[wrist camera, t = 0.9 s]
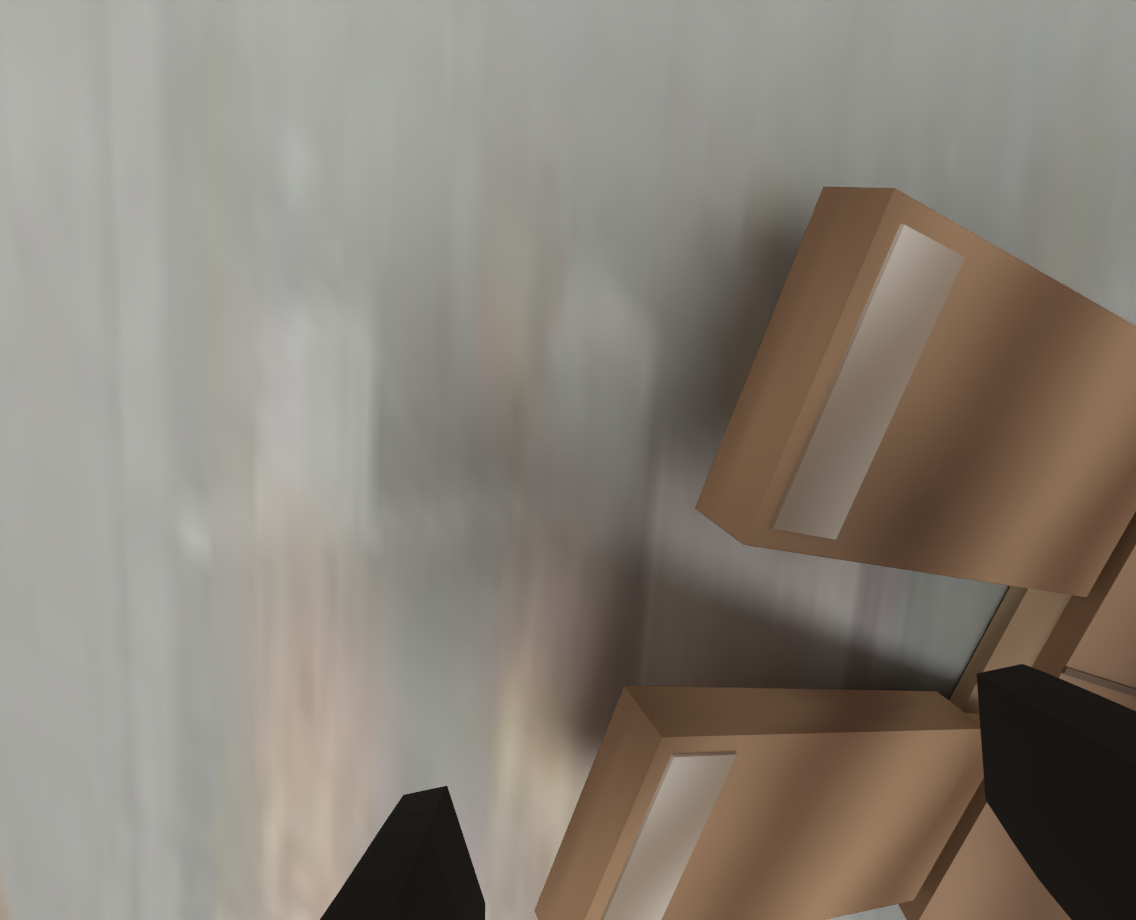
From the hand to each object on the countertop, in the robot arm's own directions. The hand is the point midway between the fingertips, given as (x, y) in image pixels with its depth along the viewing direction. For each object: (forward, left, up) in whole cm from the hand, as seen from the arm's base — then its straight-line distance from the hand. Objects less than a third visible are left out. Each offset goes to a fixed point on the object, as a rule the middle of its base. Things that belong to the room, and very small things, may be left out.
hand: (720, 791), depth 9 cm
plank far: (-5, +5, -7) cm, 10 cm away
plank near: (-5, -6, -7) cm, 10 cm away
